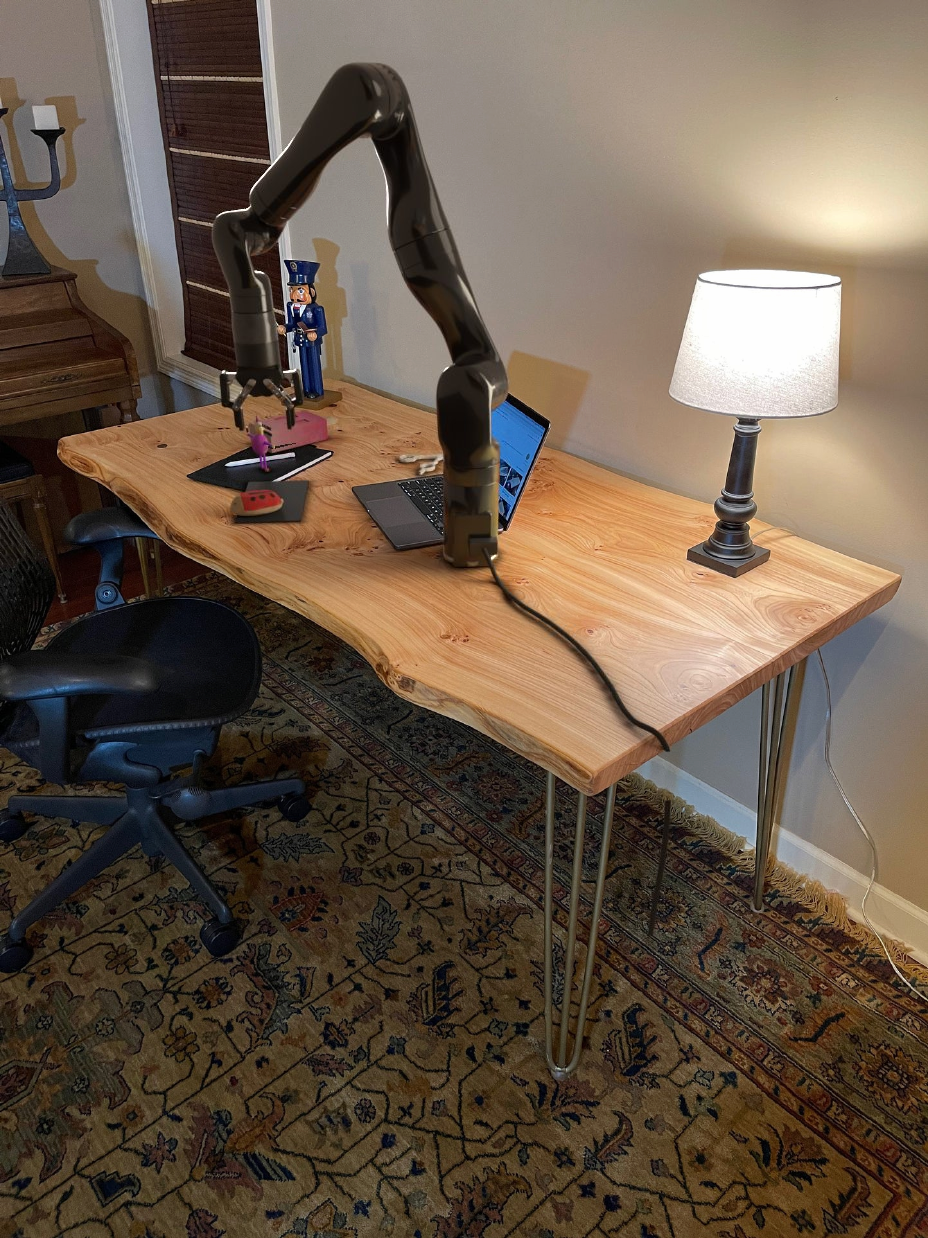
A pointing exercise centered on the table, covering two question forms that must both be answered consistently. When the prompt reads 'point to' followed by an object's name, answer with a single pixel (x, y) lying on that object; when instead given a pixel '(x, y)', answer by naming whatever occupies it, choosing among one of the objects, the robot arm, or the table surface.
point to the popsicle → (295, 430)
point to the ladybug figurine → (255, 503)
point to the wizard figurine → (260, 441)
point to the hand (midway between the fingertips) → (266, 428)
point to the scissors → (414, 457)
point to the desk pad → (291, 505)
